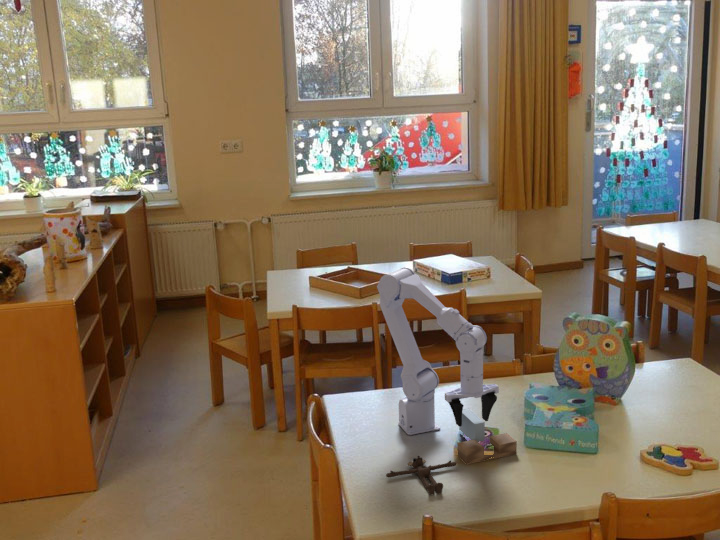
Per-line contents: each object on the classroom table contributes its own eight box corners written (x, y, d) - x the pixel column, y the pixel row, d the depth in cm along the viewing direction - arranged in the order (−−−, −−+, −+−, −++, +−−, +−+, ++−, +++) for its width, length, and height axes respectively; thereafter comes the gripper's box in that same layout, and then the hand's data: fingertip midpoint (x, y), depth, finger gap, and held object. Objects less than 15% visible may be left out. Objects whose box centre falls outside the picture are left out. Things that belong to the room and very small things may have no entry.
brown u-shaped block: (466, 464, 187) (466, 451, 186) (457, 455, 191) (457, 442, 190) (516, 453, 191) (516, 441, 190) (506, 445, 195) (506, 432, 195)
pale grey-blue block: (474, 449, 194) (474, 424, 193) (459, 434, 203) (459, 410, 201) (484, 447, 195) (484, 422, 193) (468, 432, 204) (468, 408, 202)
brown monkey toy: (398, 491, 171) (380, 456, 184) (398, 506, 172) (380, 470, 186) (472, 477, 175) (449, 444, 189) (472, 493, 177) (449, 459, 190)
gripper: (452, 383, 188) (453, 433, 192) (504, 374, 193) (504, 423, 196) (440, 373, 195) (441, 422, 198) (491, 365, 199) (491, 412, 203)
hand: (472, 422), depth 198 cm, fingers open, 7 cm apart
